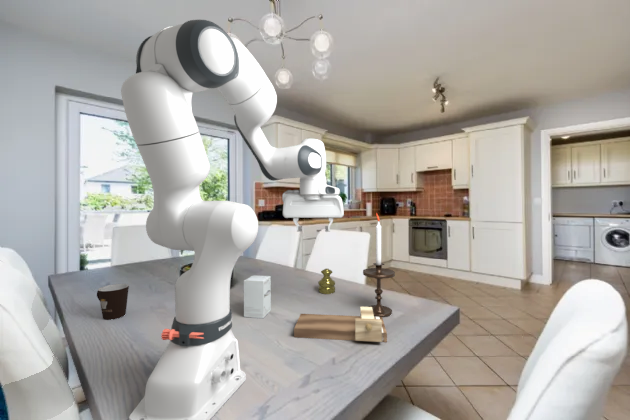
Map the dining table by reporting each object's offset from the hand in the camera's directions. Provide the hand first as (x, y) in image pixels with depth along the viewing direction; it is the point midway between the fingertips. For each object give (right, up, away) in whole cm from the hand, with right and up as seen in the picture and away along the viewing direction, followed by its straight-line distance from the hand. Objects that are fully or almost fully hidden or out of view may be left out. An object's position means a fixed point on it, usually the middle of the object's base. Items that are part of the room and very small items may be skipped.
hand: (313, 231), depth 92 cm
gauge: (+16, -28, -12) cm, 34 cm away
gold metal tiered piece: (+6, -29, +29) cm, 41 cm away
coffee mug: (-70, -30, +5) cm, 76 cm away
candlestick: (+23, -29, +6) cm, 37 cm away
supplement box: (-19, -29, +5) cm, 36 cm away
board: (+8, -29, -8) cm, 31 cm away
